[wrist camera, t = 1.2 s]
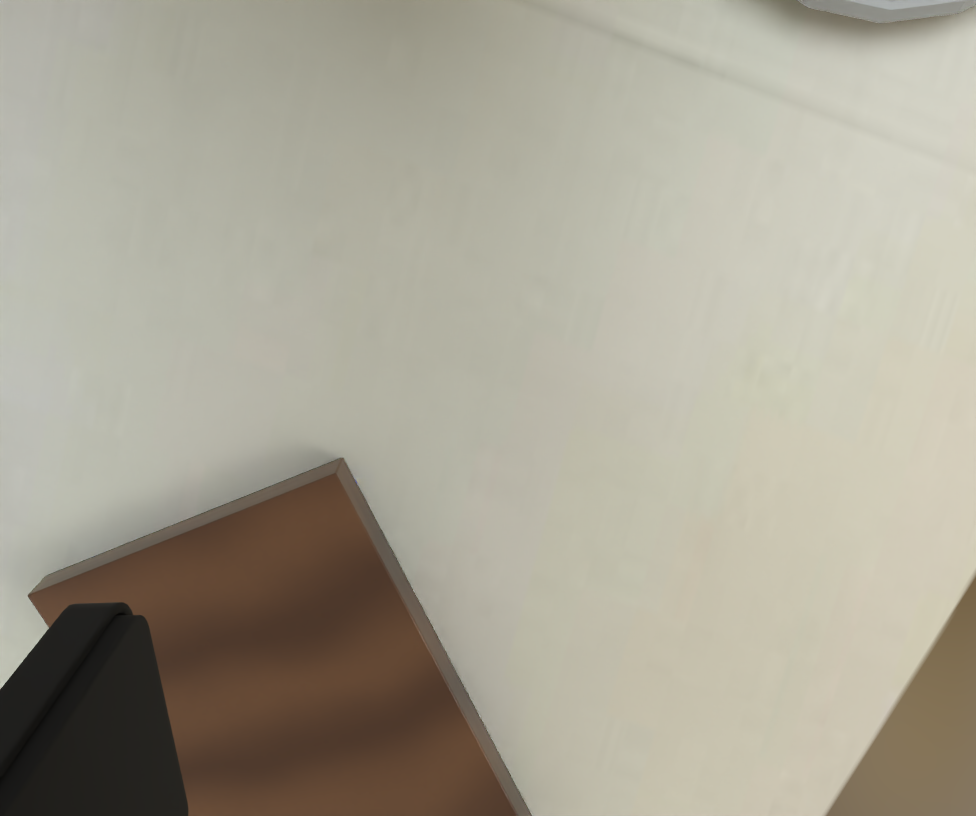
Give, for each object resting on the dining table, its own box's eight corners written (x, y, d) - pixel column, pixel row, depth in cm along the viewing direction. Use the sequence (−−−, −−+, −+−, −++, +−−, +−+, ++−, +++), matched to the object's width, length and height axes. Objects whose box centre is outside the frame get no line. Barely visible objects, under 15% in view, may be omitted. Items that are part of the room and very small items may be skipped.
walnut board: (45, 575, 45) (26, 595, 43) (343, 456, 42) (335, 472, 40) (279, 925, 52) (271, 954, 50) (546, 843, 49) (547, 870, 48)
